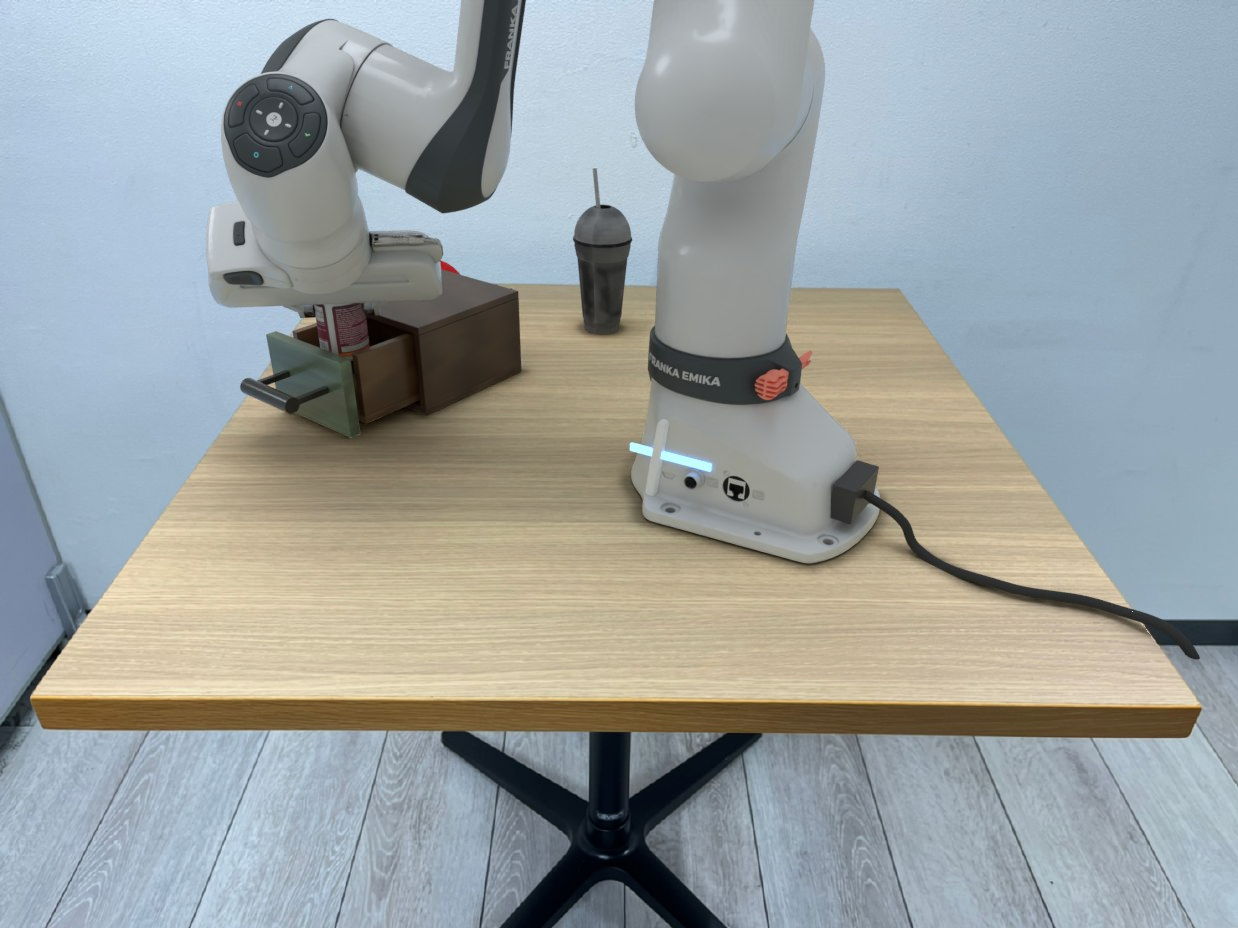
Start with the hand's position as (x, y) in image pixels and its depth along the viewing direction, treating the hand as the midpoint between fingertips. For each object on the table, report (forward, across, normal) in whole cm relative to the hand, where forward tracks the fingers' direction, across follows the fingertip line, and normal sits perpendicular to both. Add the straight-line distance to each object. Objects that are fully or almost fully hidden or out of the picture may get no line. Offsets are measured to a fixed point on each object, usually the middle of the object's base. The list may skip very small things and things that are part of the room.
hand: (340, 309), depth 90 cm
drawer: (+6, 0, +8) cm, 10 cm away
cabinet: (+13, -8, +3) cm, 16 cm away
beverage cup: (+22, -29, -6) cm, 37 cm away
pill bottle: (+3, 0, +4) cm, 5 cm away
